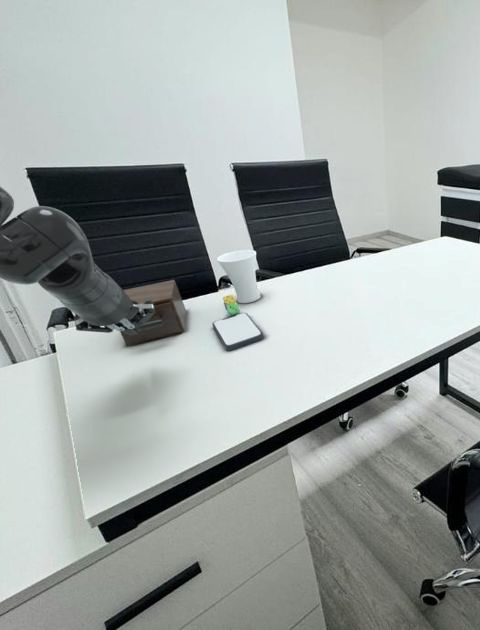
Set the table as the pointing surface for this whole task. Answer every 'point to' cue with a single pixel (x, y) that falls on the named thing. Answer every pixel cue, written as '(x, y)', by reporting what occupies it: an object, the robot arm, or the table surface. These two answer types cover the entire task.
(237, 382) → the table surface
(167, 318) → the drawer
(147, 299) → the cabinet
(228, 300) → the kitchen sponge
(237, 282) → the cup
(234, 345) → the phone case
